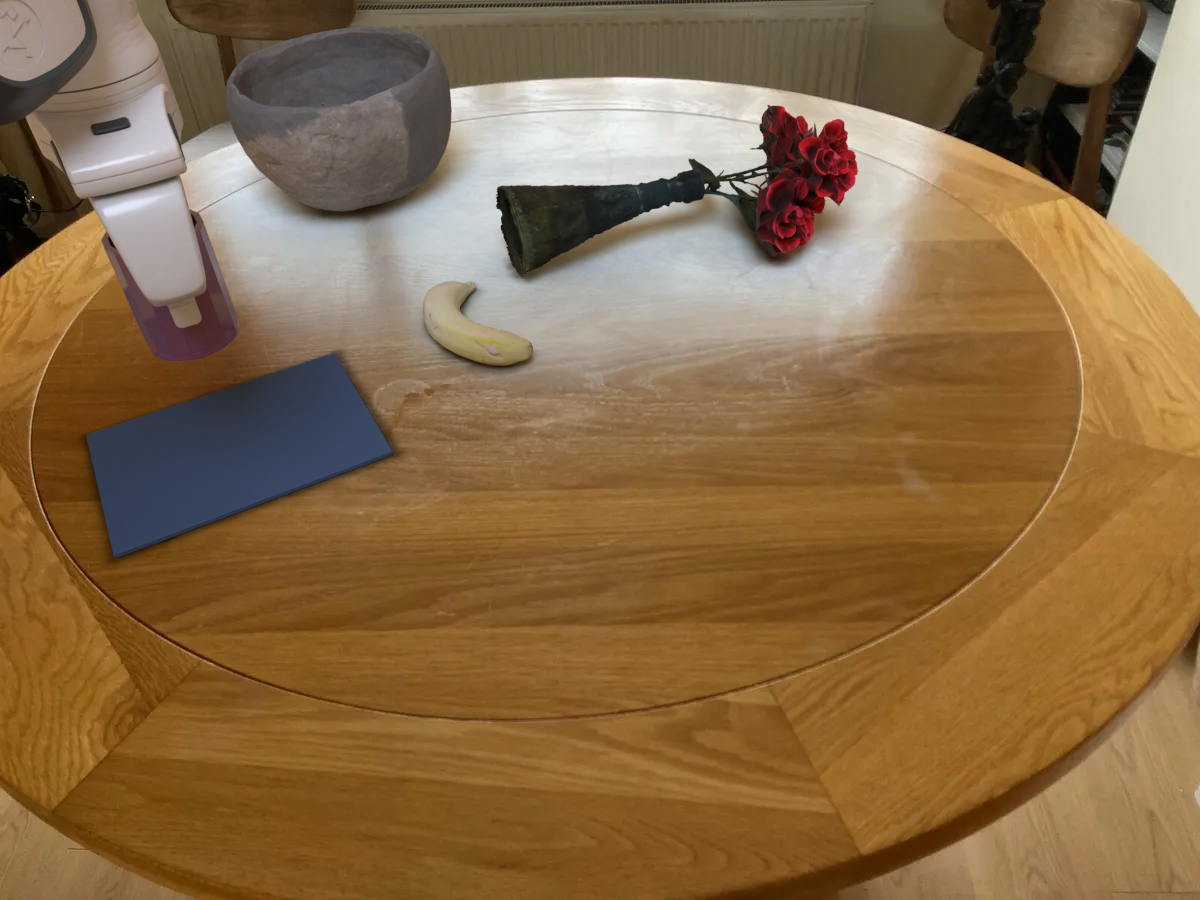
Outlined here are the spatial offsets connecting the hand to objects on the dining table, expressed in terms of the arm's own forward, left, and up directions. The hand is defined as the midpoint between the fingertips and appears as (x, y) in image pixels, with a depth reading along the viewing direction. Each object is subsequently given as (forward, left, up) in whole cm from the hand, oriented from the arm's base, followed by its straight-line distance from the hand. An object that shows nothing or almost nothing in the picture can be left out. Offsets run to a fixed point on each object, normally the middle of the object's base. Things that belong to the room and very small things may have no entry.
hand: (177, 294), depth 71 cm
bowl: (+24, +39, -15) cm, 48 cm away
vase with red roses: (+48, +7, -15) cm, 51 cm away
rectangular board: (0, 0, -15) cm, 15 cm away
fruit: (+24, +4, -15) cm, 29 cm away
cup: (0, 0, -4) cm, 4 cm away
